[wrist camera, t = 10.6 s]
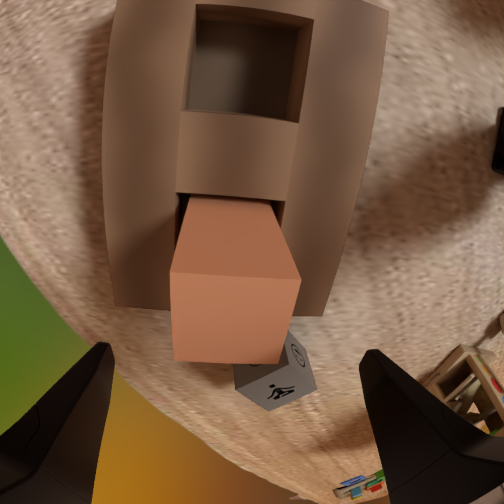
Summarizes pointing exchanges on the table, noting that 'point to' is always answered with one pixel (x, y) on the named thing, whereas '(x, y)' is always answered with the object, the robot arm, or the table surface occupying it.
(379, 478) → the shape sorter
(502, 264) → the table surface
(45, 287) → the table surface
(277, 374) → the dice cube
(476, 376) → the pounding bench toy
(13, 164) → the table surface
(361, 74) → the socket block
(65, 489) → the robot arm
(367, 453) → the table surface
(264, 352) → the pin
